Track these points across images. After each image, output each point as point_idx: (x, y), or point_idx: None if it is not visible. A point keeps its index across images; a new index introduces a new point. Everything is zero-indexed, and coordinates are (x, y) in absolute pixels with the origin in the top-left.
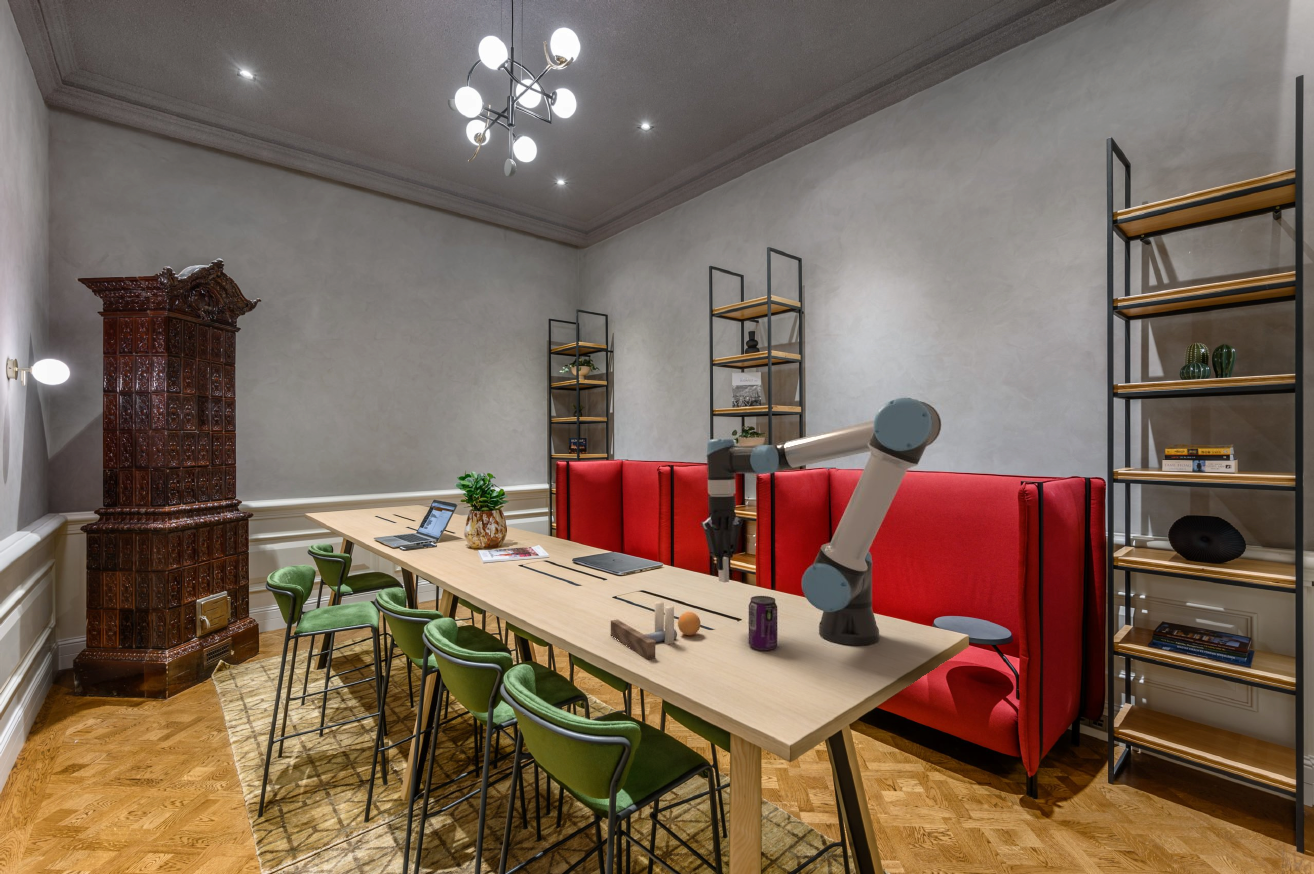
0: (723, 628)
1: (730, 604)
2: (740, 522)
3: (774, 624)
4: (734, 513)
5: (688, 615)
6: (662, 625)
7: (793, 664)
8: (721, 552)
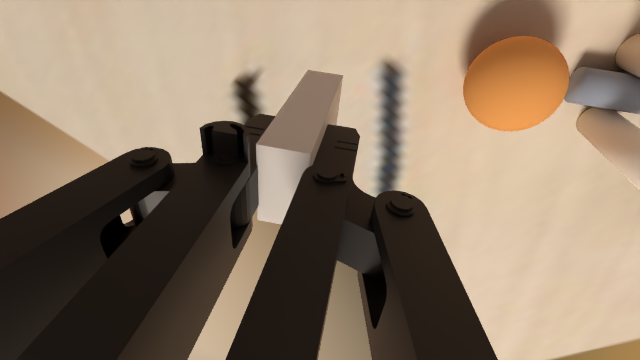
0: (351, 46)
1: None
2: None
3: None
4: None
5: (552, 81)
6: (626, 123)
7: None
8: (326, 204)
